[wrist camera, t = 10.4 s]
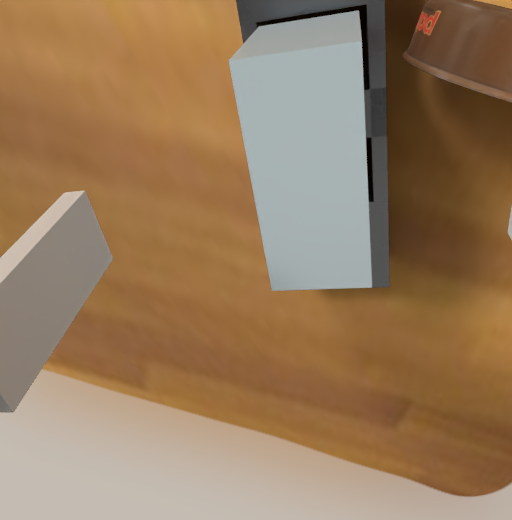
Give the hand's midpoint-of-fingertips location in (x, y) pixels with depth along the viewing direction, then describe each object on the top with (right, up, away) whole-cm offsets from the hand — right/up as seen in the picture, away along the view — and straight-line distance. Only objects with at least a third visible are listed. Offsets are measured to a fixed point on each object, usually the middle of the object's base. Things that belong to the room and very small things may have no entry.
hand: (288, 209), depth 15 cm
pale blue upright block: (+2, +7, +10) cm, 12 cm away
